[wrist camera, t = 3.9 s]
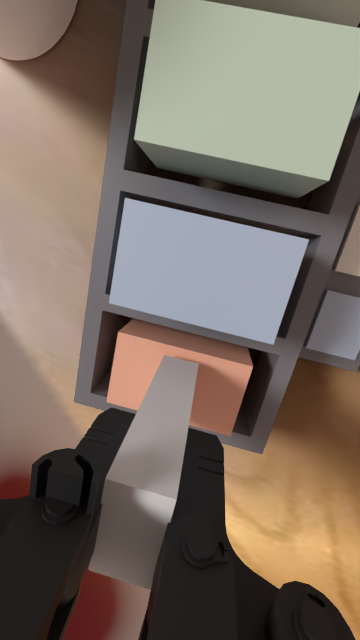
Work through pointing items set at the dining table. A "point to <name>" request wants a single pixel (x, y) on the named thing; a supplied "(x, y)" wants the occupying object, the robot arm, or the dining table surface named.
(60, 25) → the cup
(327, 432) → the dining table surface
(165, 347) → the key terracotta
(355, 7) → the key ivory
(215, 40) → the key sage
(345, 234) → the strip
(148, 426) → the robot arm
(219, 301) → the key slate
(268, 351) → the keypad
